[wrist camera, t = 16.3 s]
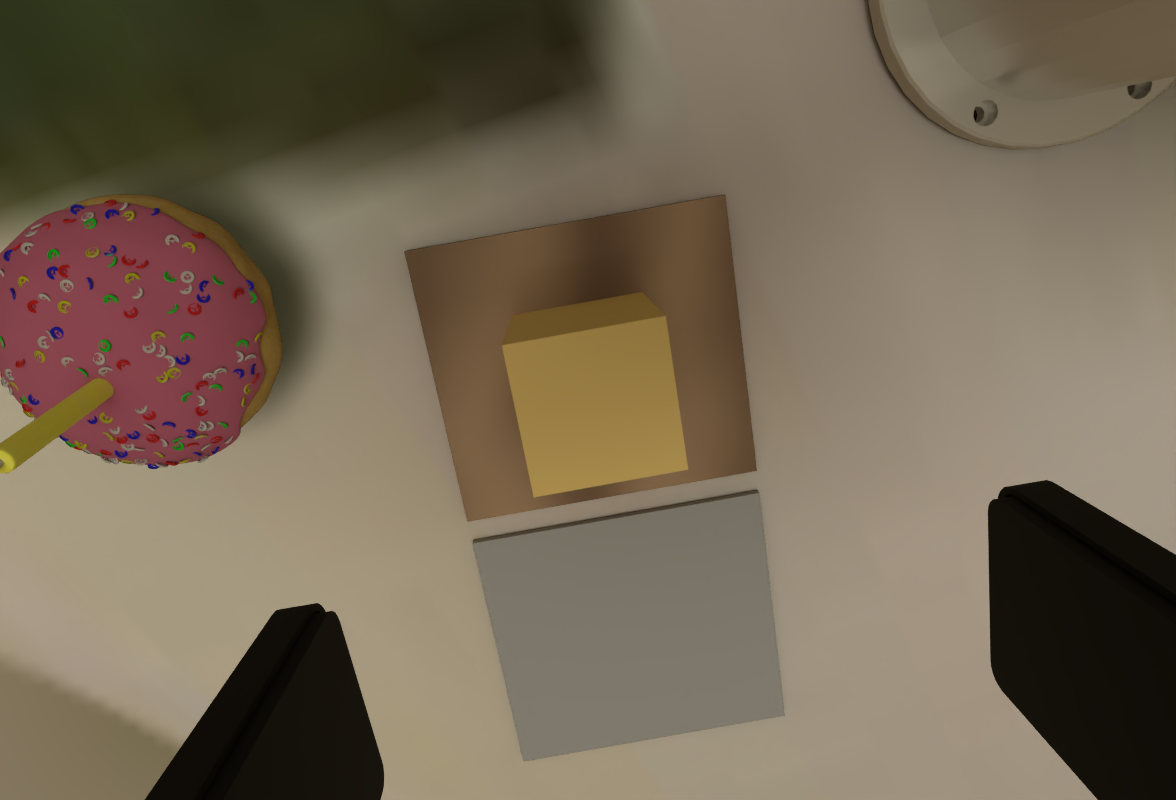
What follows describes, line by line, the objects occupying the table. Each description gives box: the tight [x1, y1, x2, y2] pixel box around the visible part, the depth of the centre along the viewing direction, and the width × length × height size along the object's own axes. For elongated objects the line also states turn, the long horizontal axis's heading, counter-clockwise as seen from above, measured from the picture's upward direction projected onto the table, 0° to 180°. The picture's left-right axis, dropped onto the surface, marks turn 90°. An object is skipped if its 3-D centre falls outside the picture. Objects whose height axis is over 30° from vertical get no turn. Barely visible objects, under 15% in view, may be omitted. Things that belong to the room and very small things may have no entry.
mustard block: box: [502, 292, 688, 497], centre depth 25 cm, size 5×5×6 cm
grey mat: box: [473, 490, 785, 761], centre depth 32 cm, size 12×11×1 cm
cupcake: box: [0, 194, 282, 473], centre depth 22 cm, size 9×8×12 cm
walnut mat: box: [404, 195, 757, 521], centre depth 28 cm, size 12×11×1 cm
